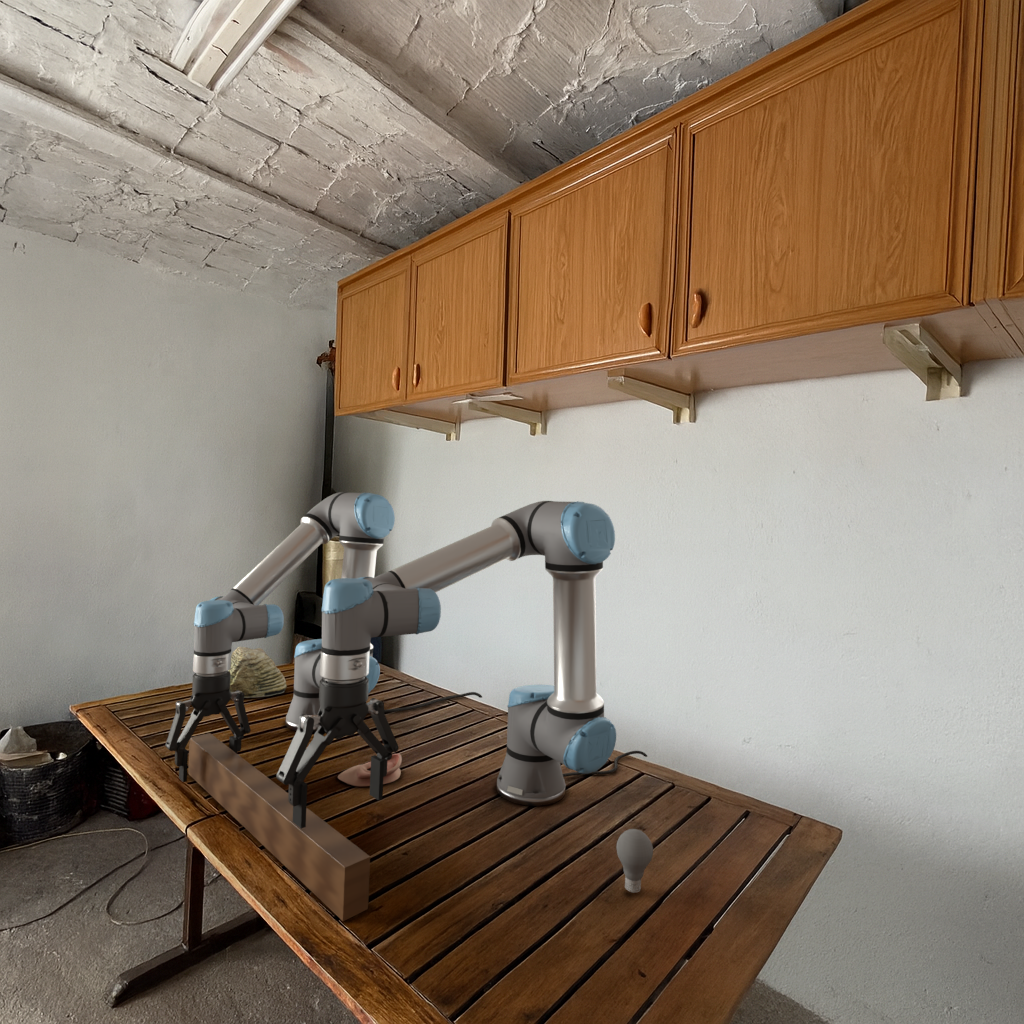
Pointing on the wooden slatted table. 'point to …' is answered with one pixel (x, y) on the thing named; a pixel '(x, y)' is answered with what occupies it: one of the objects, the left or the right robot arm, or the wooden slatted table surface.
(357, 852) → the bar
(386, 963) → the wooden slatted table surface
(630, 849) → the light bulb
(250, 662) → the fossil
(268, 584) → the left robot arm
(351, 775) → the anatomical model
